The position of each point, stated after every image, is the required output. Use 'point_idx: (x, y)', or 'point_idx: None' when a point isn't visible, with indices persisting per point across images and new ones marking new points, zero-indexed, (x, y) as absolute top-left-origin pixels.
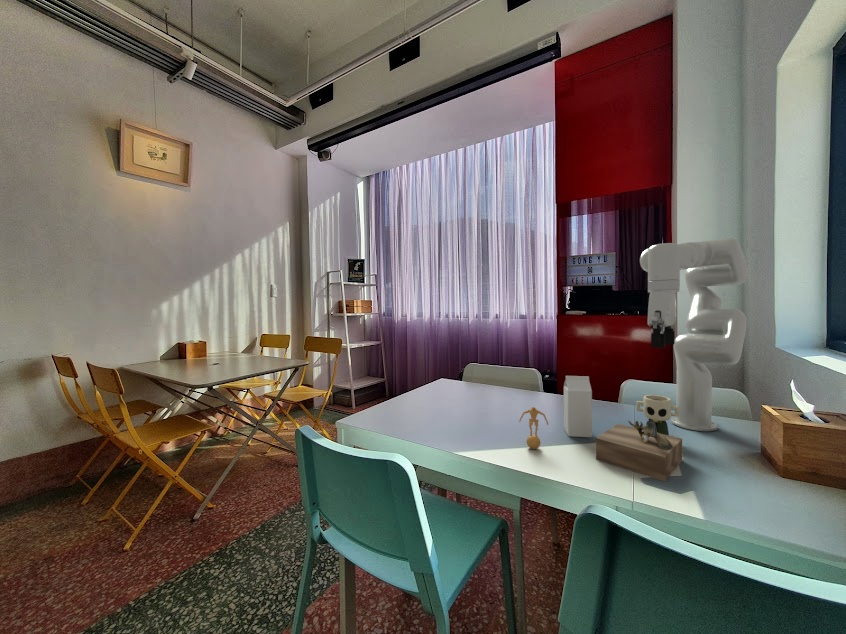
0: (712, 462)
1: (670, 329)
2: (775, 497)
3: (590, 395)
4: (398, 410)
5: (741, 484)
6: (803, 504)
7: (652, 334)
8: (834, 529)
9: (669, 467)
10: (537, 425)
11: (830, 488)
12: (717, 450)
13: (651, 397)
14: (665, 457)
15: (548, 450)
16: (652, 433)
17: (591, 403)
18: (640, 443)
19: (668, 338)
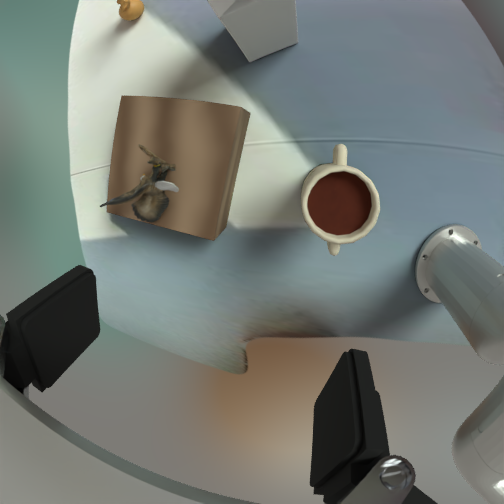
0: (247, 271)
1: (324, 498)
2: (172, 316)
3: (220, 20)
4: None
5: (185, 292)
6: (174, 335)
7: (14, 318)
8: (139, 337)
9: None
10: (119, 1)
11: (240, 371)
12: (316, 286)
13: (369, 189)
14: (109, 212)
15: (141, 31)
16: (122, 195)
17: (229, 32)
18: (137, 170)
19: (325, 419)
